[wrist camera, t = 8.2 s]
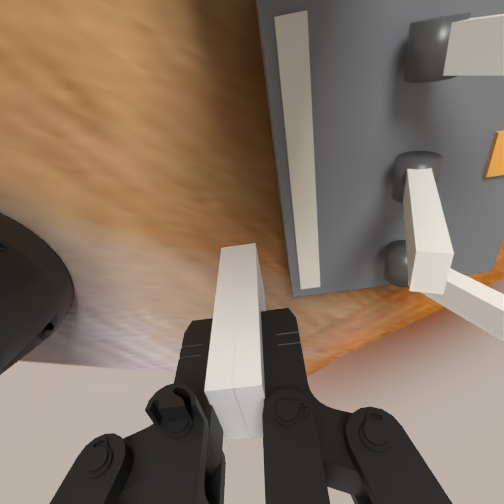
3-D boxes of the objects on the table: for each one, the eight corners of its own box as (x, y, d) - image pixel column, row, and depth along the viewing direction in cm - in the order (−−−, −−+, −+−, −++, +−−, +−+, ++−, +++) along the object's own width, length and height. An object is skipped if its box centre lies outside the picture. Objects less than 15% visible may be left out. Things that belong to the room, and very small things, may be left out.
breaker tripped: (391, 187, 20) (392, 292, 13) (395, 151, 19) (399, 245, 11) (432, 187, 20) (460, 300, 12) (439, 149, 18) (475, 249, 11)
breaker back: (376, 274, 23) (535, 374, 16) (378, 248, 22) (554, 344, 14) (398, 261, 24) (561, 350, 16) (402, 236, 23) (581, 319, 15)
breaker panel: (288, 275, 28) (293, 300, 26) (255, 0, 17) (257, -7, 14) (468, 250, 27) (493, 273, 24) (561, -64, 16) (626, -85, 13)
